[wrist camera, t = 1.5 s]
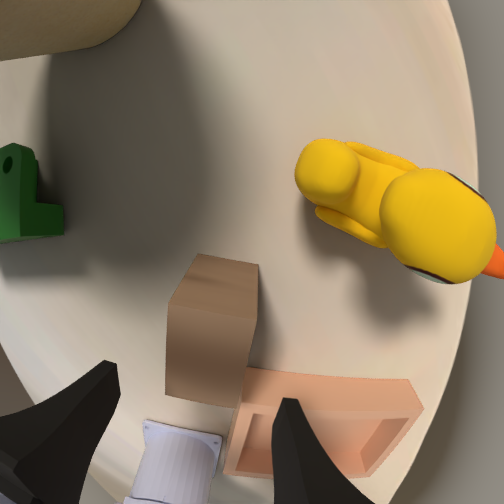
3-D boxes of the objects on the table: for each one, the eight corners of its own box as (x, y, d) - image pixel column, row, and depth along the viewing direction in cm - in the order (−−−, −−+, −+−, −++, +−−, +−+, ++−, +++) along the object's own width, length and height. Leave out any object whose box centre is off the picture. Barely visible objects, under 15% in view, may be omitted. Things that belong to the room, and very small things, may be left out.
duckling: (447, 195, 18) (550, 231, 8) (417, 262, 19) (502, 334, 10) (306, 118, 17) (357, 79, 7) (273, 197, 18) (288, 244, 9)
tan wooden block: (242, 339, 22) (236, 408, 15) (189, 329, 21) (165, 394, 15) (258, 264, 20) (257, 320, 13) (198, 253, 20) (168, 303, 13)
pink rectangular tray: (362, 449, 26) (369, 476, 22) (226, 442, 26) (222, 473, 22) (408, 379, 23) (424, 408, 19) (244, 366, 22) (241, 402, 18)
